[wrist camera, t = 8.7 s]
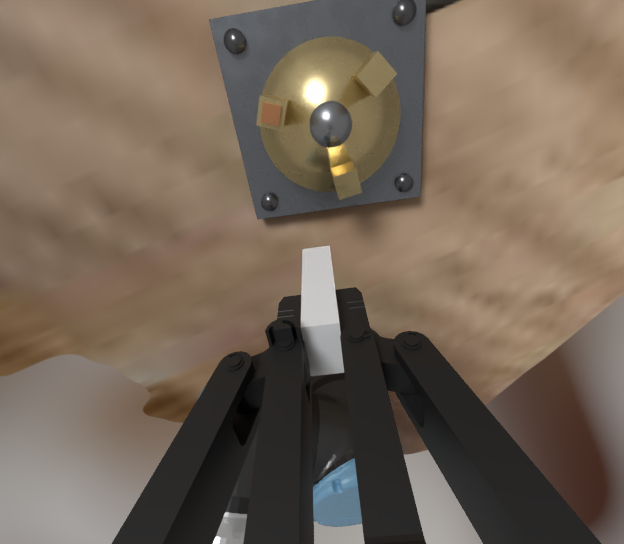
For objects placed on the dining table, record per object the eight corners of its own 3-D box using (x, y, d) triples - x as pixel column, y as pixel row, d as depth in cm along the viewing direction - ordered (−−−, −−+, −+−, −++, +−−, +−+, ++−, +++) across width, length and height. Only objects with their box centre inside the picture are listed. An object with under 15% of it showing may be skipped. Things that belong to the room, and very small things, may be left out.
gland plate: (415, 191, 41) (421, 198, 39) (259, 213, 43) (256, 221, 40) (419, -15, 31) (428, -22, 29) (214, 22, 32) (207, 18, 30)
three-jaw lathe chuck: (414, 59, 32) (436, 56, 27) (371, 195, 39) (382, 215, 34) (272, 21, 31) (264, 10, 25) (254, 171, 38) (245, 188, 32)
